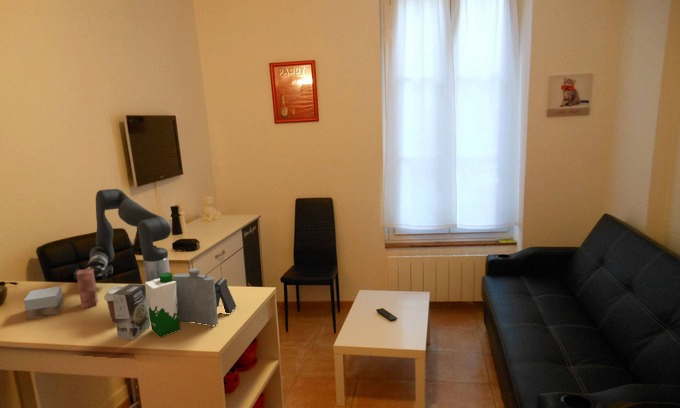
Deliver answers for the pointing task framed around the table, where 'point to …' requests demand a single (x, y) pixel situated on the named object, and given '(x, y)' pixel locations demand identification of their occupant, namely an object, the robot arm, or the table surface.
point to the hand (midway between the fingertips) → (91, 277)
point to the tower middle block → (43, 298)
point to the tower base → (44, 311)
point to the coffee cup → (109, 299)
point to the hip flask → (196, 298)
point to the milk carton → (163, 304)
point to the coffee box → (131, 311)
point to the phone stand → (224, 295)
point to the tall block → (87, 288)
